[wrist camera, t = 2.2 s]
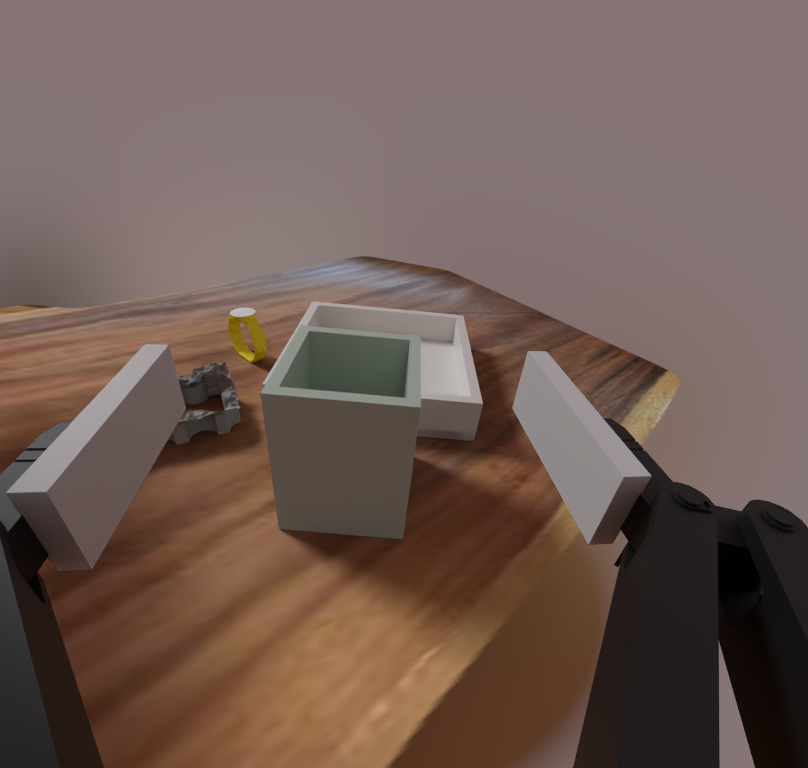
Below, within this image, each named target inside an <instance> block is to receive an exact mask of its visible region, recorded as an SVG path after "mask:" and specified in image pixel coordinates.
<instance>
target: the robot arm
mask: <svg viewBox="0 0 808 768" xmlns="http://www.w3.org/2000/svg"><path fill="white" fill-rule="evenodd" d="M512 409H513V410H514V412H515V414H516V416H517V418H518V419H519V421H520V423H521V425H522V427H523V428H524V430H525V432H526V434H527V436H528V437H529V439H530V441H531V443H532V444H533V446H534V448H535V450H536V452H537V453H538V455H539V457H540V459H541V461H542V462H543V464H544V466H545V468H546V470H547V471H548V473H549V475H550V477H551V479H552V480H553V482H554V484H555V486H556V488H557V489H558V491H559V493H560V495H561V497H562V498H563V500H564V502H565V504H566V506H567V507H568V509H569V511H570V513H571V514H572V516H573V518H574V520H575V522H576V523H577V525H578V527H579V529H580V531H581V532H582V534H583V536H584V538H585V540H586V541H587V543H588V545H594V544H612V543H613V542H614V540H615V539H616V537H617V535H618V534H619V532H620V530H621V531H622V532H623V534H624V535H625V537H626V538H627V540H628V543H627V544H626V546H625V548H624V549H623V551H622V553H621V555H620V556H619V558H618V559H617V561H616V563H615V566H617V567H618V566H619V565H620V567H619V572H618V576H617V580H616V585H615V589H614V593H613V598H612V602H611V606H610V611H609V615H608V619H607V623H606V628H605V633H604V637H603V641H602V646H601V650H600V654H599V658H598V662H597V667H596V671H595V676H594V680H593V684H592V689H591V693H590V698H589V701H588V706H587V710H586V714H585V719H584V723H583V727H582V732H581V736H580V741H579V745H578V749H577V753H576V758H575V762H574V766H573V768H719V660H718V659H719V655H718V654H719V652H718V650H719V646H718V639H719V643H720V646H721V649H722V653H723V657H724V660H725V663H726V667H727V671H728V674H729V678H730V681H731V685H732V688H733V692H734V695H735V698H736V702H737V706H738V709H739V713H740V716H741V720H742V723H743V726H744V730H745V734H746V737H747V741H748V744H749V748H750V751H751V755H752V758H753V761H754V765H755V768H808V528H807V526H806V525H805V524H804V523H803V521H802V520H800V519H799V518H798V517H797V516H795V515H794V514H793V513H792V512H790V511H789V510H787V509H784V508H783V507H781V506H779V505H776V504H774V503H771V502H768V501H763V500H752V501H750V502H749V503H748V504H747V505H746V506H745V508H744V509H743V510H742V511H737V510H732V509H728V508H723V507H719V506H715V505H714V504H713V503H712V502H711V500H710V499H709V498H708V497H707V496H705V495H704V494H703V493H701V492H700V491H698V490H696V489H695V488H692V487H691V486H688V485H685V484H682V483H678V482H673V481H672V480H671V479H670V478H669V477H668V476H667V475H666V474H665V473H664V471H663V470H662V469H661V468H660V467H659V466H658V465H657V464H656V462H655V461H654V460H653V459H652V458H651V457H650V456H649V454H648V453H647V452H646V451H643V448H642V447H641V445H640V444H639V443H638V442H635V439H634V438H633V437H632V435H631V434H630V433H629V432H628V431H627V430H626V429H625V428H624V427H623V426H621V425H620V424H618V423H617V422H615V421H614V420H612V419H603V418H602V417H601V415H600V414H599V413H598V412H597V411H596V410H595V408H594V407H593V406H592V405H591V404H590V402H589V401H588V400H587V399H586V398H585V397H584V395H583V394H582V393H581V392H580V391H579V389H578V388H577V387H576V386H575V385H574V383H573V382H572V381H571V380H570V379H569V378H568V376H567V375H566V374H565V373H564V372H563V370H562V369H561V368H560V367H559V366H558V365H557V363H556V362H555V361H554V360H553V359H552V357H551V356H550V355H549V354H548V353H547V352H542V351H528V353H527V357H526V360H525V364H524V368H523V371H522V375H521V378H520V382H519V386H518V389H517V393H516V396H515V400H514V404H513V407H512ZM185 410H186V406H185V403H184V399H183V395H182V392H181V388H180V384H179V381H178V377H177V373H176V369H175V366H174V362H173V358H172V355H171V351H170V347H169V345H153V344H145V345H144V346H143V347H142V348H141V349H140V350H139V351H138V352H137V353H136V355H135V356H134V357H133V358H132V359H131V360H130V361H129V362H128V363H127V364H126V365H125V366H124V367H123V368H122V369H121V370H120V372H119V373H118V374H117V375H116V376H115V377H114V378H113V379H112V380H111V381H110V382H109V383H108V384H107V385H106V386H105V388H104V389H103V390H102V391H101V392H100V393H99V394H98V395H97V396H96V397H95V398H94V399H93V400H92V401H91V402H90V403H89V405H88V406H87V407H86V408H85V409H84V410H83V411H82V412H81V413H80V414H79V415H78V416H77V417H76V418H75V419H74V420H73V422H72V423H59V424H57V425H56V426H54V427H52V428H51V429H49V430H47V431H46V432H44V433H42V434H41V435H39V436H38V437H37V438H36V439H35V440H34V441H33V442H32V443H31V444H30V445H29V446H28V447H27V451H23V452H22V453H21V454H20V455H19V456H18V457H17V458H16V459H15V463H11V464H10V465H9V466H8V467H7V468H6V469H5V470H4V471H3V472H2V473H1V474H0V768H104V767H103V764H102V761H101V757H100V754H99V751H98V748H97V745H96V742H95V739H94V736H93V733H92V730H91V727H90V723H89V720H88V717H87V714H86V711H85V708H84V705H83V702H82V699H81V696H80V692H79V689H78V686H77V683H76V680H75V677H74V674H73V671H72V668H71V665H70V662H69V658H68V655H67V652H66V649H65V646H64V643H63V640H62V637H61V634H60V631H59V628H58V624H57V621H56V618H55V615H54V612H53V609H52V606H51V603H50V600H49V597H48V593H47V590H46V587H45V584H44V581H43V579H42V577H41V576H40V575H39V573H38V572H37V571H38V570H39V569H40V567H41V566H42V564H43V563H44V562H45V560H46V559H47V557H49V559H50V560H51V562H52V563H53V565H54V566H55V568H56V569H57V571H69V570H90V569H93V567H94V565H95V564H96V562H97V560H98V558H99V557H100V555H101V553H102V552H103V550H104V548H105V547H106V545H107V543H108V541H109V540H110V538H111V536H112V535H113V533H114V531H115V529H116V528H117V526H118V524H119V523H120V521H121V519H122V517H123V516H124V514H125V512H126V511H127V509H128V507H129V505H130V504H131V502H132V500H133V499H134V497H135V495H136V494H137V492H138V490H139V488H140V487H141V485H142V483H143V482H144V480H145V478H146V476H147V475H148V473H149V471H150V470H151V468H152V466H153V464H154V463H155V461H156V459H157V458H158V456H159V454H160V452H161V451H162V449H163V447H164V446H165V444H166V442H167V441H168V439H169V437H170V435H171V434H172V432H173V430H174V429H175V427H176V425H177V423H178V422H179V420H180V418H181V417H182V415H183V413H184V411H185Z"/></svg>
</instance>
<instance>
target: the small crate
mask: <svg viewBox="0 0 808 768" xmlns="http://www.w3.org/2000/svg"><path fill="white" fill-rule="evenodd" d="M261 401H262V408H263V415H264V423H265V430H266V437H267V445H268V452H269V459H270V467H271V474H272V481H273V489H274V496H275V503H276V511H277V518H278V525H279V529H284V530H296V531H308V532H320V533H332V534H344V535H356V536H368V537H380V538H393V539H403V536H404V529H405V521H406V514H407V506H408V499H409V491H410V484H411V477H412V469H413V462H414V454H415V447H416V439H417V432H418V424H419V417H420V410H421V336H412V335H402V334H391V333H380V332H369V331H358V330H347V329H336V328H325V327H315V326H304V325H301V326H300V328H299V329H298V331H297V333H296V334H295V336H294V338H293V339H292V341H291V343H290V344H289V346H288V348H287V349H286V351H285V353H284V354H283V356H282V358H281V360H280V361H279V363H278V365H277V366H276V368H275V370H274V371H273V373H272V375H271V376H270V378H269V380H268V381H267V383H266V385H265V386H264V388H263V390H262V392H261Z"/></svg>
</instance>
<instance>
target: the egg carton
mask: <svg viewBox="0 0 808 768" xmlns="http://www.w3.org/2000/svg"><path fill="white" fill-rule="evenodd" d="M177 377H178V381H179V384H180V388H181V392H182V395H183V399H184V402H185V403H186V404H190V405H196V404H200V403H203V402H204V401H206V400H207V399H208V397H209V396H212V395H221V397H222V402H223V407H224V410H223V411H218V412H211V411H209V410H196V411H194V412H192V411H190V412H188V413H187V414H186V415H185V420H179V422H178V423H177V425H176V427H175V429H174V430H173V432H172V434H171V435H170V437H169V439H168V440H171V441H174V442H175V443H176V445H179V444H184V443H188V442H189V441H190V439H191V437H192V436H193V435H194V434H196V433H198V432H200V431H204V430H212V431H215V432H217V434H218V435H222V434H226V433H229V432H230V429H231V427H232V426H233V425H235V424H237V423H239V422H240V420H241V419H240V413H239V408H240V406H239V403H238V398H237V390H236V388H235V386H234V384H233V382H232V381H231V378H230V374H229V370H228V367H227V366H226V363H220V364H218V365H217V364H215V363H214V364H210V365H209V366H202V367H200V368H197V369H193V372H192V374H191V375H186V376H177Z"/></svg>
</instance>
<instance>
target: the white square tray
mask: <svg viewBox="0 0 808 768" xmlns="http://www.w3.org/2000/svg"><path fill="white" fill-rule="evenodd" d="M301 325H304V326H315V327H325V328H336V329H347V330H358V331H369V332H380V333H391V334H402V335H412V336H421V410H420V417H419V424H418V432H417V436H420V437H431V438H443V439H454V440H466V441H474V439H475V435H476V431H477V427H478V423H479V419H480V414H481V410H482V406H483V402H482V397H481V393H480V388H479V384H478V379H477V375H476V370H475V366H474V362H473V357H472V353H471V348H470V344H469V339H468V335H467V330H466V326H465V322H464V317H463V315H452V314H442V313H431V312H420V311H409V310H399V309H388V308H377V307H366V306H356V305H345V304H334V303H323V302H312V303H311V305H310V307H309V308H308V310H307V312H306V313H305V315H304V317H303V318H302V320H301V322H300V323H299V325H298V326H297V328H296V330H295V331H294V333H293V335H292V336H291V338H290V340H289V341H288V343H287V345H286V346H285V348H284V350H283V351H282V353H281V355H280V356H279V358H278V359H277V361H276V363H275V364H274V366H273V368H272V369H271V371H270V373H269V374H268V376H267V378H266V379H265V381H264V383H263V388H264V386H265V385H266V383H267V381H268V380H269V378H270V376H271V375H272V373H273V371H274V370H275V368H276V366H277V365H278V363H279V361H280V360H281V358H282V356H283V354H284V353H285V351H286V349H287V348H288V346H289V344H290V343H291V341H292V339H293V338H294V336H295V334H296V333H297V331H298V329H299V328H300V326H301Z"/></svg>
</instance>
